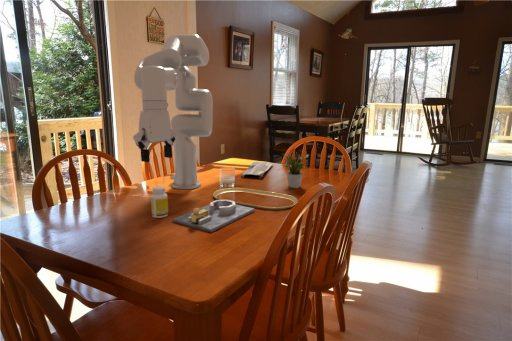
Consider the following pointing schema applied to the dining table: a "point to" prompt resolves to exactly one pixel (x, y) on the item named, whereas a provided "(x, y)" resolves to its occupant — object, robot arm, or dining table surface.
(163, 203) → the supplement bottle
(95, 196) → the dining table surface
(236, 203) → the gold oval ring
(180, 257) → the dining table surface
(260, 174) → the newspaper
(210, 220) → the dock
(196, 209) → the bolt
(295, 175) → the house plant
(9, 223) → the dining table surface
